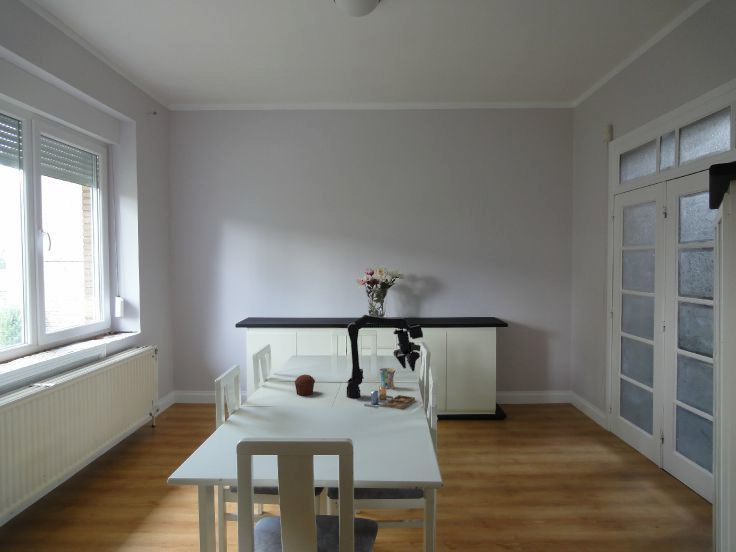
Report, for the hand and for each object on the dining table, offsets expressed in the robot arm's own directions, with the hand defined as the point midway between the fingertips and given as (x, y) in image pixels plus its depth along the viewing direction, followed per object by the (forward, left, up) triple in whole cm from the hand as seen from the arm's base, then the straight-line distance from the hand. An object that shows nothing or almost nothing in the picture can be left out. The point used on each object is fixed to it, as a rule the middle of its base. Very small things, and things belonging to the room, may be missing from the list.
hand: (409, 369), depth 241 cm
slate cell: (-9, -21, -14) cm, 27 cm away
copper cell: (-9, -13, -14) cm, 21 cm away
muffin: (-53, -21, -15) cm, 59 cm away
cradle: (-9, -17, -15) cm, 24 cm away
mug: (-17, +8, -15) cm, 24 cm away
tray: (+2, -14, -15) cm, 20 cm away
